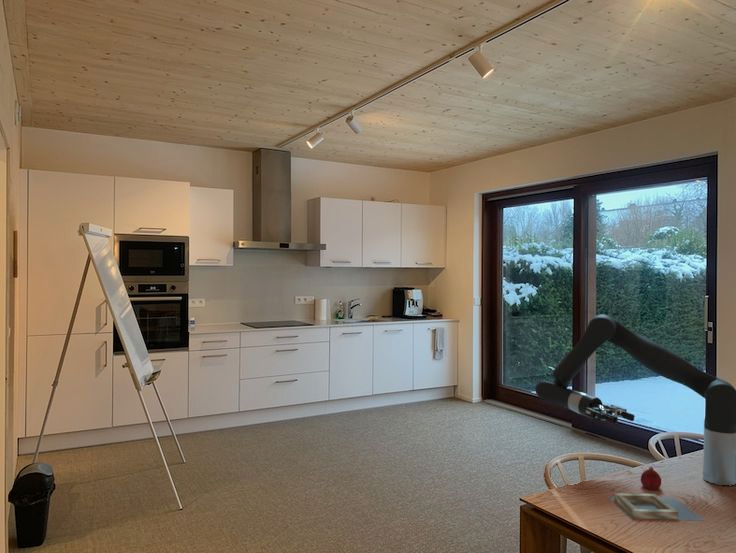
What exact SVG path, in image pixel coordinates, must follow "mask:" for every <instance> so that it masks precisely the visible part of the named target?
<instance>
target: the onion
mask: <svg viewBox="0 0 736 553" xmlns="http://www.w3.org/2000/svg"><path fill="white" fill-rule="evenodd" d="M640 483H641V485H642V487H643V488H644V489H647V490H651V491H657V490H659V489H660V488H661V486H662V477H661V475H660V474H659V473H658V471H656V470H655V469H654V467H653V466H649V468H648V469H646V470H644V471H643V472H642V473H641V476H640Z"/></svg>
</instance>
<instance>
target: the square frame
mask: <svg viewBox="0 0 736 553" xmlns="http://www.w3.org/2000/svg"><path fill="white" fill-rule="evenodd" d="M614 497H615V501H616V502H617V503H618V504H619V505H620V506H622V507H623V508H624V509H625V510H626V511H627V512H628V513H629V514H630V515H631V516H632V517H633V518H634V519H678V511H676V510H675V509H674V508H673V507H671V506H670V505H669V504H667V503H666V502H665V501H664V500H662V499H661V498H660V497H661V496H658V494H656V493H625V492H623V493H621V492H620V493H618V492H616V493H615V492H614ZM630 502H640V503H654V504H655V505H656V506H657V507H658V508H660V509H637V508H636V507H635V506H633V505H632V504H631V503H630ZM634 519H633V520H634Z"/></svg>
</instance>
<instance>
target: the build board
mask: <svg viewBox="0 0 736 553" xmlns="http://www.w3.org/2000/svg"><path fill="white" fill-rule="evenodd" d="M659 497H660V498H661V499H662V500H664V501H665V502H666V503H667V504H669V505H670V506H671V507H673V508H674V509H675V510H676V511H678V519H634V518H633V517H632V516H631V515H630V514H629V513H628V512H627V511H626V510H625V509H624V508H623V507H622V506H620V505H619V504H618V503H617V502H616V501H615V495H614V496H610V495H608V496H607V498H608V499H609V500H611V502H613V503H614V504H615V505H616V506H617V508H619V509H620V510H621V511H622V512H623V513H624V514H625V515H626V516H627V517H629V518H630V520H634V521H635V520H641V521H643V520H647V521H697V522H698V521H699V522H700V521H701V522H702V521H704V522H705V519H704V518H702V517H700V515H698V514H697V513H696V512H694V511H693V510H691V508H689V507H687V506H686V505H685V504H684V503H682V502H681V501H680V500H678V499H676V498H675V497H672V496H671V497H669V496H668V497H666V496H665V497H664V496H662V497H661V496H659ZM630 503H631V504H632V505H633V506H635V507H636V508H637V509H660V508H658V507H657V506H656V505H655V504H654V503H640V502H630Z"/></svg>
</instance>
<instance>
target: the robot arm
mask: <svg viewBox="0 0 736 553" xmlns="http://www.w3.org/2000/svg"><path fill="white" fill-rule="evenodd" d="M606 342H609V343H610V344H613V345H614V346H616V347H618V348H621V350H623V351H625V353H627V354H628V355H629V356H630V357H631V358H633V359H634V360H635V361H636V362H638V363H639V364H641V365H642V366H643V367H645V368H647V369H648V370H650V371H652V372H653V373H655V374H657V375H658V376H661V377H662V378H665V379H668V380H670V381H671V382H675V383H677V384H681V385H683V386H685V387H687V388H688V389H690V390H692V391H693V392H695V393H696V394H697V395H699V396H701V397H702V398H703V399H705V413H704V414H705V415H704V421H703V422H704V423H703V426H704V427H703V455H702V462H703V463H702V464H703V465H702V470H703V471H702V479H703V480H704V481H706V482H707V481H708V483H710V484H713V483H714V484H713V485H718V486H722V485H726V486H725V487H732V486H731V485H734V486H735V484H736V388H735V387H734V386H733V385H732V384H731V383H730V382H728V381H726V380H723V379H721V378H719V377H717V376H714V375H712V374H710V373H708V372H706V371H703V370H701V369H700V368H698V367H697V366H694V365H693V364H692V363H690V362H689V361H688V360H686V359H684V358H682V357H681V356H680V355H678V354H676V353H675V352H673V351H671V350H669V349H668V348H666V347H664V346H662V345H661V344H658V343H657V342H655V341H653V340H651V339H650V338H646V337H644V336H643V335H641V334H639V333H636V332H634V331H632V330H631V329H629V328H627V327H626V326H624V325H623V324H621V323H620V322H619V321H618V320H616V319H615V318H613V317H612V316H610V315H609V314H602V313H601V314H597V315H594V317H592V318H591V319H590V321H588V325H587V327H586V329H585V331H584V332H583V334H582V336H581V338H580V339H579V341H578V342H577V343H576V344H575V346H573V348H572V349H571V350H570V351H569V352H568V353H567V354H566V355H565V356H564V357H563V358H562V360H561V361H560V362H559V363H558V364H557V366H556V367H555V368H554V369H553V371H552V376H553V378H554V380H553V382H552V381H549V380H542V381H541V380H540V381H539V382H537V383H536V385H535V388H534V390H535V391H534V392H535V394H536V395H537V398H540V399H542V400H544V401H547V402H551V403H553V404H557V405H559V406H562V407H563V408H565V409H567V410H569V411H570V410H571V411H573V412H575V413H577V414H578V415H579V414H580V415H581V416H584V417H587V418H589V419H591V420H592V419H594V420H597V421H607V422H608V423H609V422H610V423H612V424H618V420H619V418H621V419H625V420H628V421H629V422H634V421H635V415H634V414H633V413H630V412H627V411H628V410H627V409H626V408H624V407H621V406H617V405H614V404H610V405H609V404H603V402H602V400H601V398H599V397H597V396H594V395H591V394H588V393H585V392H581V391H577V390H574V389H572V388H568V387H569V385H570V383H571V382H572V380H573V379H574V378H575V377H576V375H577V374H578V373H579V372H580V371H581V369H582V368H583V366H584V365H585V364H586V362H587V361H588V360H589V358H590V357H591V356H592V355H593V354H594V353H595V352H596V351H597V349H599V348H600V347H601V346H602V345H604V344H605V343H606ZM727 485H729V486H727Z"/></svg>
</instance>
